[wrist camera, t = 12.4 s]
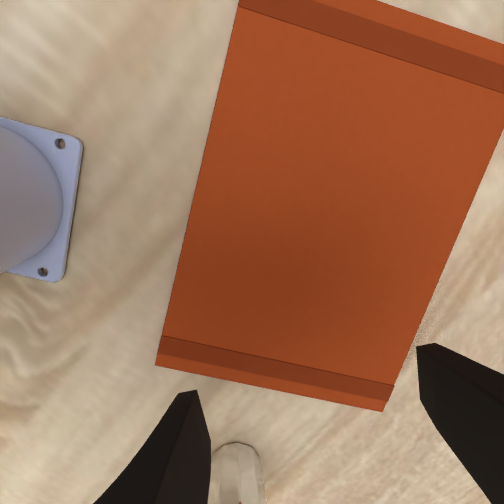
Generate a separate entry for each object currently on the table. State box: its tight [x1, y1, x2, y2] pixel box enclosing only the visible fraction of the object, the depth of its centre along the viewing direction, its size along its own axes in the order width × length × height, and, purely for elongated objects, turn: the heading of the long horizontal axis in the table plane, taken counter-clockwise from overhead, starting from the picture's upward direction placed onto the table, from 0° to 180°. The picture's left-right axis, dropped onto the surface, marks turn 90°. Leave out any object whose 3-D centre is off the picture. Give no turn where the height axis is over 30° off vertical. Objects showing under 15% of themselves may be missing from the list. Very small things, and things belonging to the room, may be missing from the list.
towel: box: [155, 0, 504, 412], centre depth 21 cm, size 15×22×1 cm
